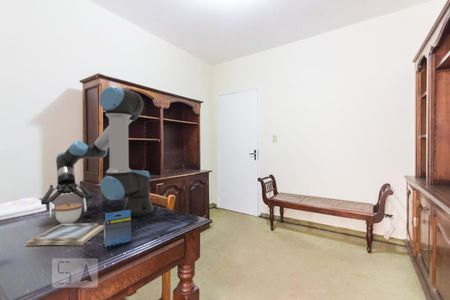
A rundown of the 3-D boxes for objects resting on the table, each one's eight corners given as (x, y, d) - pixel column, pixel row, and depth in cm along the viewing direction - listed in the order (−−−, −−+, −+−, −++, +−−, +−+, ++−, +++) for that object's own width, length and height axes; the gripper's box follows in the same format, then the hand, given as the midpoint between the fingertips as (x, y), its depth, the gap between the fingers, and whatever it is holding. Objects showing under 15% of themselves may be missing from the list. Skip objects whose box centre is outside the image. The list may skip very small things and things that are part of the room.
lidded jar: (72, 226, 104) (71, 205, 104) (48, 225, 104) (48, 205, 104) (86, 218, 115) (86, 199, 115) (65, 218, 115) (65, 199, 115)
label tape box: (128, 238, 91) (128, 207, 90) (131, 241, 87) (130, 209, 87) (103, 243, 85) (103, 211, 85) (105, 247, 82) (105, 213, 82)
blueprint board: (104, 228, 101) (104, 222, 101) (82, 245, 84) (82, 238, 84) (57, 229, 100) (57, 223, 100) (25, 246, 83) (25, 239, 83)
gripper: (92, 179, 129) (97, 212, 118) (35, 184, 114) (34, 222, 102) (94, 171, 125) (99, 204, 113) (34, 175, 109) (34, 213, 98)
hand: (68, 213), depth 108 cm, fingers open, 13 cm apart
